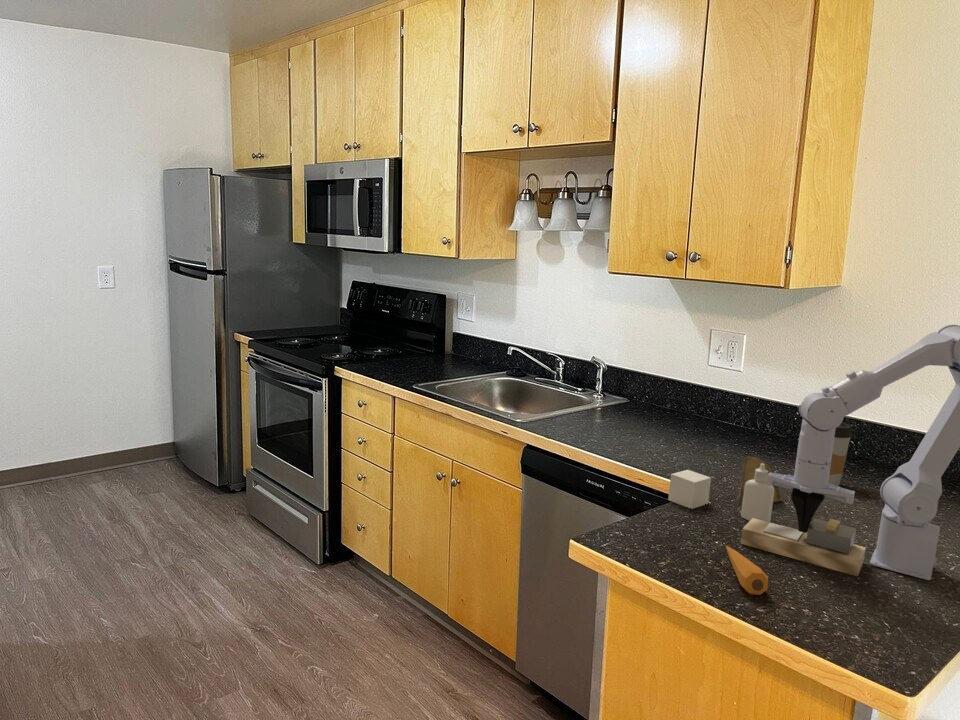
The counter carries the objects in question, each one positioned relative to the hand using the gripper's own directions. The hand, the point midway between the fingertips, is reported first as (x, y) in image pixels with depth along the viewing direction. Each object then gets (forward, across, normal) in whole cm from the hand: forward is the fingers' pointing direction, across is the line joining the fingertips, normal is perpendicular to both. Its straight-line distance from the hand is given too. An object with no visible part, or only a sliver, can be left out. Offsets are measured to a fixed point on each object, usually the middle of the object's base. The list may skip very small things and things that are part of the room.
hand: (803, 530), depth 136 cm
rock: (+5, -13, +23) cm, 27 cm away
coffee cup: (+5, -4, +47) cm, 47 cm away
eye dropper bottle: (+5, -11, +11) cm, 16 cm away
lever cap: (+1, +5, 0) cm, 5 cm away
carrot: (+5, -7, -15) cm, 17 cm away
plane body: (+4, 0, 0) cm, 4 cm away
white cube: (+5, -25, +12) cm, 28 cm away
